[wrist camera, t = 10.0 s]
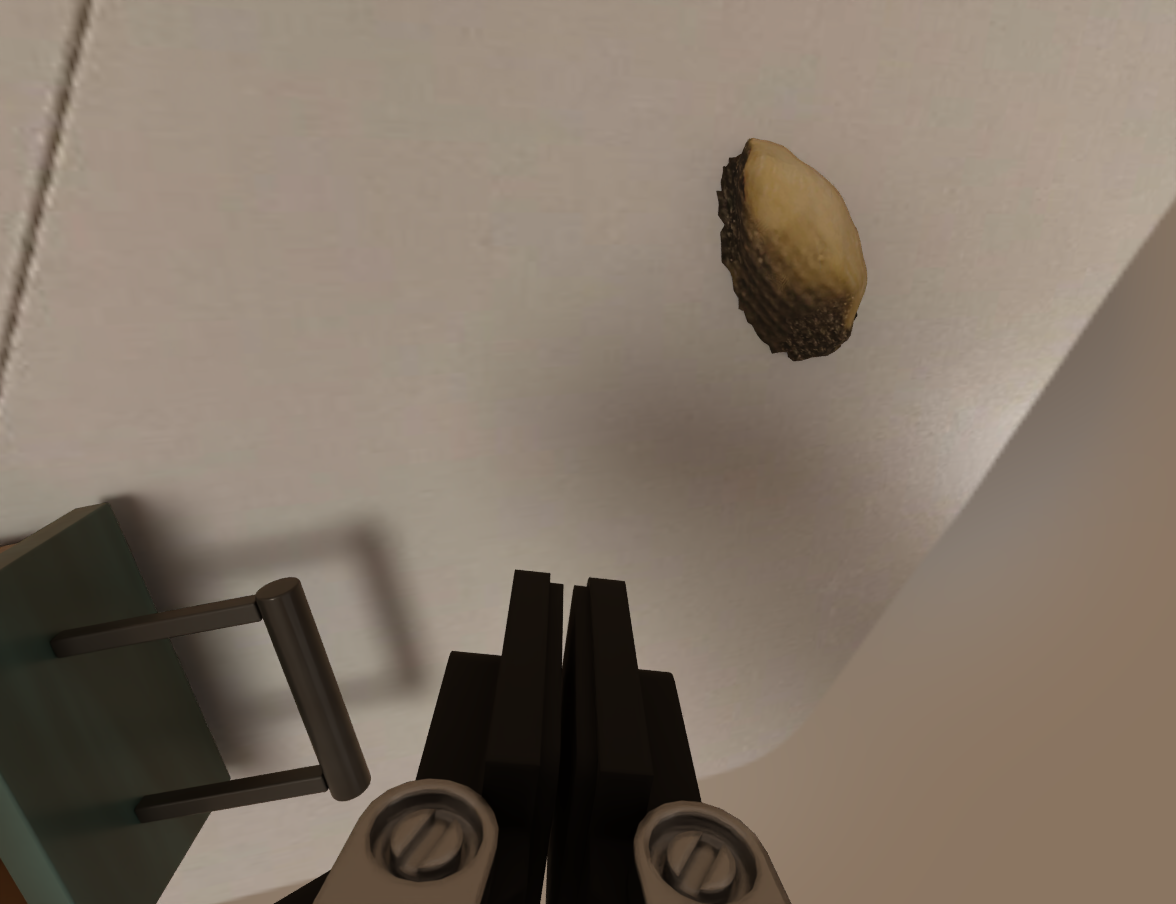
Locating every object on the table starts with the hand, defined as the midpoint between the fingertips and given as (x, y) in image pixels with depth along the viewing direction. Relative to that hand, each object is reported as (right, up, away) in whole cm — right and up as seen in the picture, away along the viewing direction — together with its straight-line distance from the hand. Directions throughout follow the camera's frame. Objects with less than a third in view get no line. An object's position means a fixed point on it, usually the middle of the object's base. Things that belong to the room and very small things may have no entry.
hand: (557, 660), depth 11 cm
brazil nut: (+7, +9, +11) cm, 16 cm away
